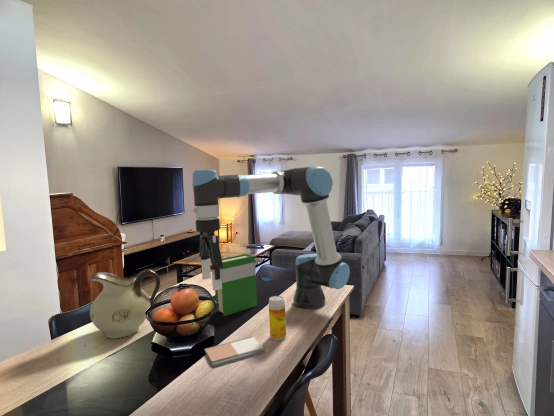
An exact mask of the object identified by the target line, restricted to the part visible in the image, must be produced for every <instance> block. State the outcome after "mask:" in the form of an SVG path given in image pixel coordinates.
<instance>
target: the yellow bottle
mask: <svg viewBox="0 0 554 416" xmlns="http://www.w3.org/2000/svg"><path fill="white" fill-rule="evenodd" d="M268 319H269V320H268V321H269V337H270V338H271V339H272V340H274V341H282V340H284V339H285V338H286V336H287V320H286V319H287V318H286V301H285V299H284V296H281V295H273V296H271V297H269V300H268Z"/></svg>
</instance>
